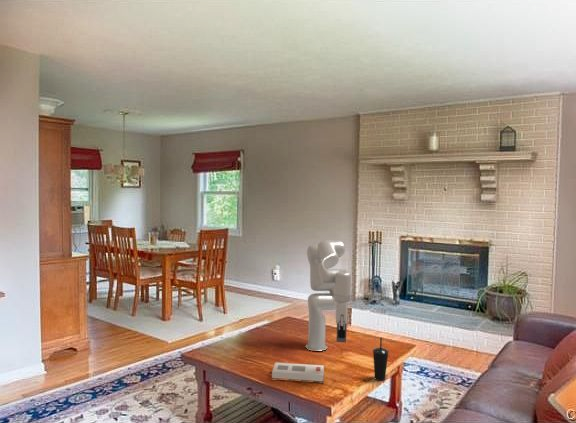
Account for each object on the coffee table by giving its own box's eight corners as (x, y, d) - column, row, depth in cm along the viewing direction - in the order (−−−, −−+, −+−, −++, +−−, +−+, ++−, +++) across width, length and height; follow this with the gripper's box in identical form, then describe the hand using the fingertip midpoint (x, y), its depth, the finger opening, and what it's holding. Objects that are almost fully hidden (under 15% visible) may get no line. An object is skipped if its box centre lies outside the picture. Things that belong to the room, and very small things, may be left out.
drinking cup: (368, 376, 220) (370, 335, 219) (382, 374, 223) (383, 334, 222) (377, 382, 213) (378, 340, 212) (391, 380, 216) (392, 339, 215)
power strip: (275, 370, 225) (275, 360, 225) (323, 373, 223) (323, 363, 223) (271, 380, 213) (272, 370, 213) (323, 383, 211) (323, 373, 211)
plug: (336, 338, 218) (337, 320, 218) (345, 339, 217) (346, 321, 217) (336, 342, 213) (337, 323, 213) (346, 342, 213) (346, 323, 213)
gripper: (334, 293, 223) (333, 330, 224) (334, 301, 207) (333, 341, 207) (349, 294, 223) (348, 331, 223) (351, 302, 206) (349, 342, 207)
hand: (341, 335), depth 215 cm, fingers closed on plug, 4 cm apart
